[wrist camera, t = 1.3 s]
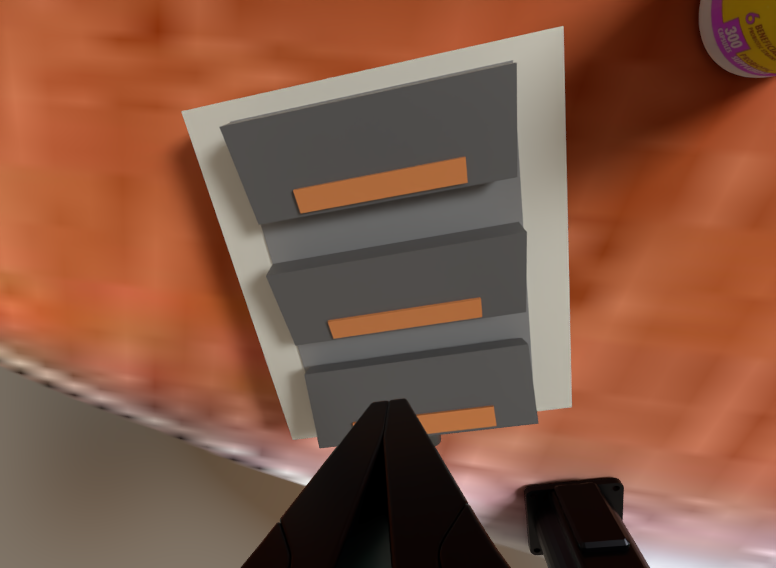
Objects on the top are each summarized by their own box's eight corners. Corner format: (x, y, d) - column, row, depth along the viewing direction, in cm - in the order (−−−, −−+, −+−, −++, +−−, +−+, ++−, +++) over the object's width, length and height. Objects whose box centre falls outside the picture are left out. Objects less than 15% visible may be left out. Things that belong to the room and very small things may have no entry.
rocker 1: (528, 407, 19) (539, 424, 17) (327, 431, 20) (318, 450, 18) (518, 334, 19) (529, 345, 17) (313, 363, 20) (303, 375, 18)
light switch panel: (552, 414, 24) (573, 451, 21) (316, 441, 25) (305, 479, 22) (537, 47, 17) (564, 25, 14) (215, 118, 18) (179, 111, 16)
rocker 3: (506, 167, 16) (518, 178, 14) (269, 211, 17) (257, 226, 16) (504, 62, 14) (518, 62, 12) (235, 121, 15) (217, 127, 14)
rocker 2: (515, 292, 18) (527, 314, 16) (302, 325, 19) (294, 347, 17) (515, 217, 16) (528, 233, 14) (275, 258, 17) (264, 277, 15)
